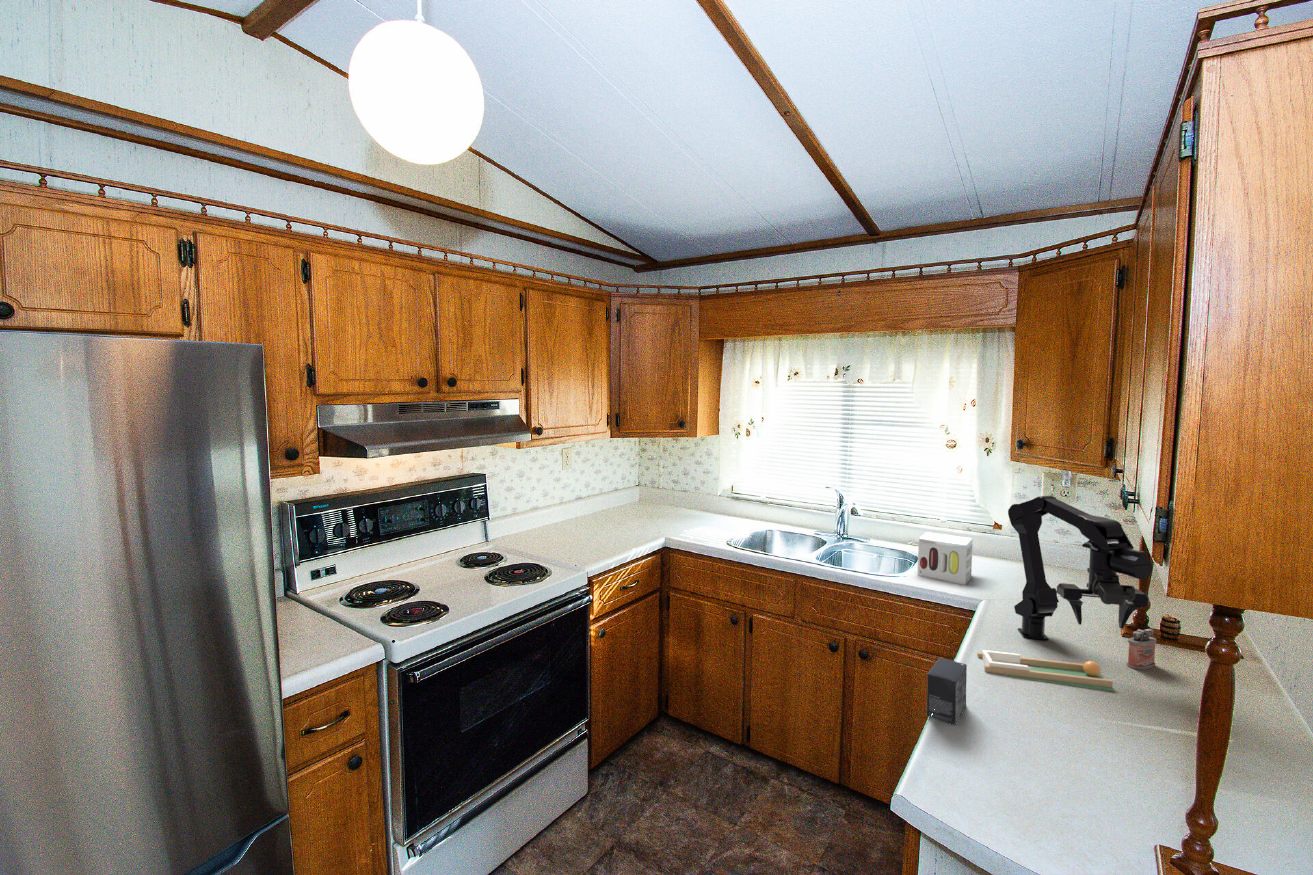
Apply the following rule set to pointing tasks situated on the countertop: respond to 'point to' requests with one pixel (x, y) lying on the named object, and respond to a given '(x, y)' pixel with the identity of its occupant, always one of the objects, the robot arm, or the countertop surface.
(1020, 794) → the countertop surface
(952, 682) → the small box
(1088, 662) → the ball
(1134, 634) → the lighter
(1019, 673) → the track
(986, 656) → the white u-shaped frame
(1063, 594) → the robot arm
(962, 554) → the supplement box
